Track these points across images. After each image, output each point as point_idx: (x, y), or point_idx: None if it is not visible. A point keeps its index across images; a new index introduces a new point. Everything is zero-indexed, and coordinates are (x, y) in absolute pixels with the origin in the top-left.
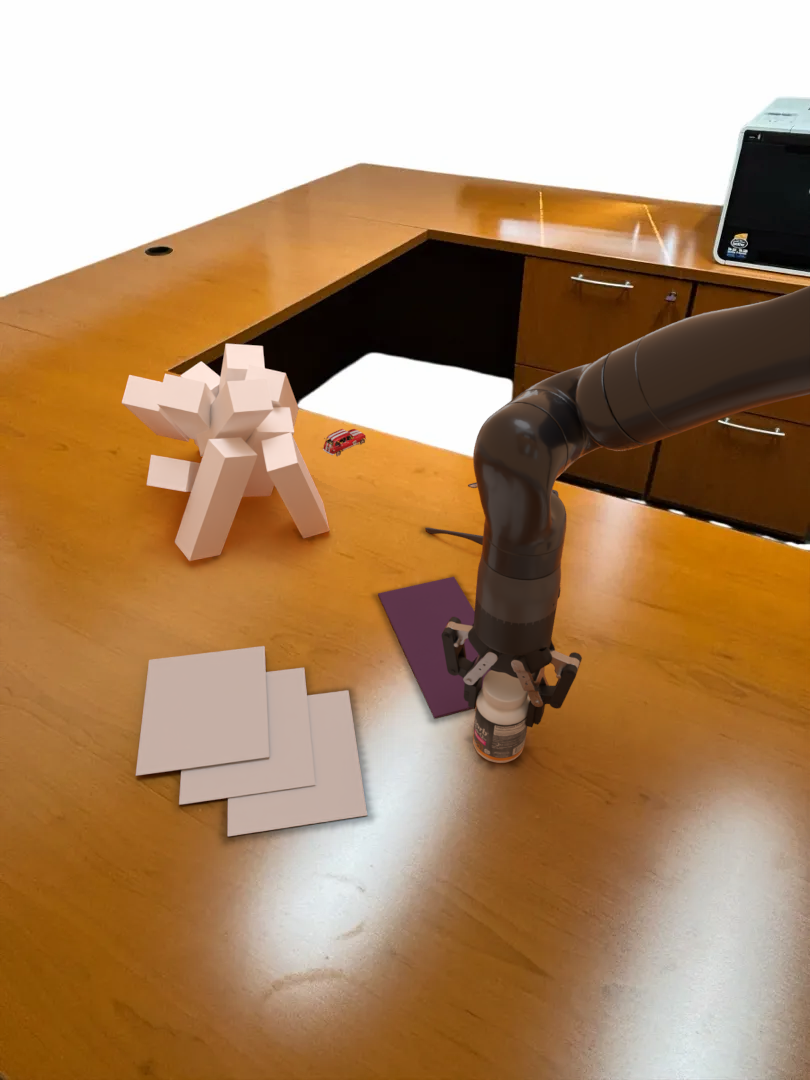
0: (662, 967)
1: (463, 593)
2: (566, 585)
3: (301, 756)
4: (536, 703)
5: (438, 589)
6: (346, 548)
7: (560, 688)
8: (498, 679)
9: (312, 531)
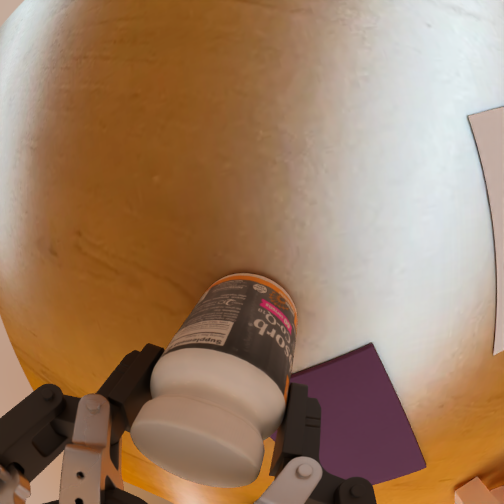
0: (31, 50)
1: None
2: None
3: None
4: (92, 404)
5: None
6: (443, 484)
7: (9, 434)
8: (215, 470)
9: (471, 486)
